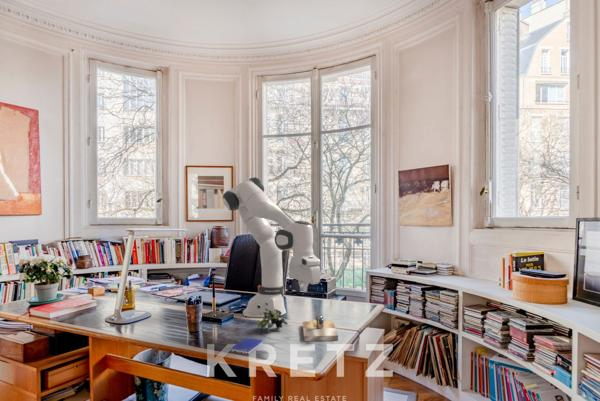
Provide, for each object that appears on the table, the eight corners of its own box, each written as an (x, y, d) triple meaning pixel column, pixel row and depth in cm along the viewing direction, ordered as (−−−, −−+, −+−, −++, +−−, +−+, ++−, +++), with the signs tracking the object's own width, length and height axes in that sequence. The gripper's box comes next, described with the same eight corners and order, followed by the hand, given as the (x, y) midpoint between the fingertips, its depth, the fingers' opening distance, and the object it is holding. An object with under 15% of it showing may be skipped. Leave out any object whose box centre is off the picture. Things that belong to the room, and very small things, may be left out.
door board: (304, 341, 155) (304, 327, 155) (302, 325, 176) (302, 313, 176) (338, 340, 156) (338, 327, 156) (332, 324, 177) (332, 313, 177)
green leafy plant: (277, 340, 172) (292, 319, 171) (265, 343, 162) (281, 321, 161) (261, 323, 177) (276, 303, 176) (249, 325, 167) (264, 304, 166)
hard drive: (248, 350, 142) (263, 340, 154) (229, 348, 145) (245, 337, 157) (248, 355, 142) (263, 344, 154) (229, 352, 145) (245, 341, 157)
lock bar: (315, 318, 167) (315, 311, 167) (322, 318, 167) (322, 310, 167) (317, 327, 154) (317, 319, 154) (325, 327, 154) (325, 319, 154)
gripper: (285, 256, 169) (285, 287, 169) (309, 262, 152) (310, 296, 151) (297, 255, 172) (297, 286, 172) (322, 261, 155) (323, 294, 155)
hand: (303, 291), depth 162 cm, fingers closed
